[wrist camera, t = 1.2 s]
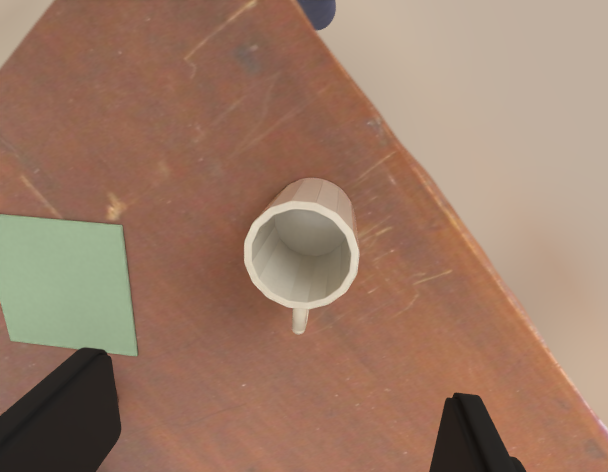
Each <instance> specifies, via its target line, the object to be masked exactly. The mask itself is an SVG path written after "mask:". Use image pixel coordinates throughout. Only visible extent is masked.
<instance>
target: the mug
mask: <svg viewBox="0 0 608 472" xmlns="http://www.w3.org/2000/svg"><path fill="white" fill-rule="evenodd" d="M359 254H360V253H359V244H358V235H357V226H356V217H355V213H354V210H353V206H352V204H351V201H350V200H349V198H348V196H347V195H346V194H345V192H344V191H343V190H342V189H341V188H339V187H338V186H337V185H335V184H333V183H332V182H329V181H327V180H324V179H320V178H304V179H300V180H297V181H295V182H293V183H291V184H289V185H288V186H286V187H285V188H284V189H283V190H282V191H281V192H280V193H279V194H277V196H276V197H275V198H274V199H273V200H272V201H271V202H270V204H269V205H268V206H267V207H266V208H265V209H264V210H263V212H262V213H261V214H260V215H259V216H258V217H257V218H256V220H255V221H254V222H253V223H252V225H251V228H250V230H249V232H248V234H247V236H246V239H245V241H244V264H245V266H246V269H247V271H248V273H249V276H250V278H251V280H252V282H253V284H254V285H255V286H256V287H257V288H258V289H259V290H260V291H261V292H262V293H263V294H264V295H265V296H266V297H268V298H269V299H271V300H273V301H275V302H277V303H279V304H281V305H283V306H285V307H289V308H293V312H292V331H293V332H294V333H295V334H302V333H304V331H305V329H306V324H307V319H308V313H309V309H312V308H316V307H320V306H324V305H328V304H330V303H331V302H333V301H334V300H336V299H337V298H338V297H340V296H341V295H343V294H344V293H345V292H346V291H347V290H348V288H349V287H350V285H351V283H352V282H353V280H354V278H355V277H356V275H357V271H358V262H359Z"/></svg>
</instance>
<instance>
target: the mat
mask: <svg viewBox="0 0 608 472" xmlns="http://www.w3.org/2000/svg"><path fill="white" fill-rule="evenodd" d="M0 302H1V306H2V309H3V313H4V317H5V321H6V325H7V329H8V332H9V336H10V340H11V341H16V342H24V343H32V344H40V345H49V346H57V347H65V348H73V349H81V348H83V347H88V348H96V349H103V350H105V351H106V352H107V353H113V354H121V355H129V356H137V355H138V349H137V341H136V333H135V325H134V316H133V308H132V300H131V292H130V283H129V275H128V267H127V259H126V251H125V242H124V234H123V226H122V225H116V224H105V223H94V222H82V221H71V220H60V219H49V218H38V217H27V216H16V215H5V214H0Z"/></svg>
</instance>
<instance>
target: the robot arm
mask: <svg viewBox="0 0 608 472" xmlns="http://www.w3.org/2000/svg"><path fill="white" fill-rule="evenodd" d="M120 433H121V422H120V415H119V408H118V401H117V394H116V387H115V381H114V374H113V367H112V360H111V357H110V356H108V355H107V352H106V351H105V350H103V349H96V348H88V347H83V348H81V349H79V350H78V351H76V352H75V353H74V354H73V355H72V356H70V357H69V358H68V359H67V360H66V361H65V362H63V363H62V364H61V365H60V366H59V367H57V368H56V369H55V370H54V371H53V372H52V373H50V374H49V375H48V376H47V377H46V378H45V379H43V380H42V381H41V382H40V383H39V384H37V385H36V386H35V387H34V388H33V389H32V390H30V391H29V392H28V393H27V394H26V395H24V396H23V397H22V398H21V399H20V400H19V401H17V402H16V403H15V404H14V405H13V406H11V407H10V408H9V409H8V410H7V411H6V412H4V413H3V414H2V415H1V416H0V472H95V471H96V470H97V469H98V467H99V466H100V465H101V463H102V462H103V460H104V459H105V458H106V456H107V455H108V453H109V452H110V451H111V449H112V448H113V446H114V445H115V444H116V442H117V440H118V438H119V436H120ZM429 472H526V470H525V468H524V467H523V465H522V464H521V462H520V461H519V460H518V459H517V458H515V457H510V456H509V454H508V452H507V450H506V448H505V446H504V444H503V442H502V440H501V438H500V436H499V434H498V432H497V430H496V428H495V426H494V424H493V422H492V420H491V418H490V416H489V414H488V411H487V409H486V407H485V405H484V403H483V401H482V400H481V398H480V397H479V396H478V395H471V394H463V393H454V395H453V397H452V398H447V399H446V401H445V405H444V409H443V414H442V418H441V422H440V427H439V431H438V436H437V440H436V444H435V449H434V453H433V458H432V462H431V466H430V471H429Z"/></svg>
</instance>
